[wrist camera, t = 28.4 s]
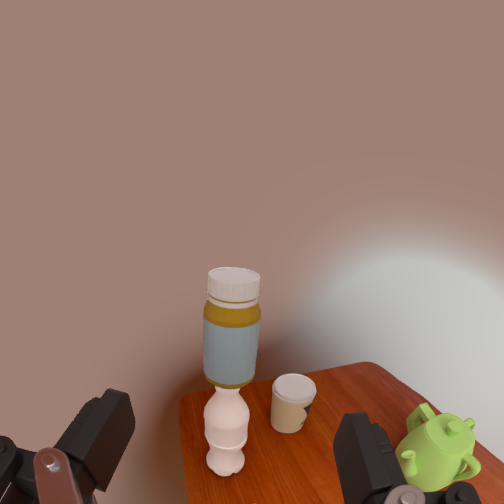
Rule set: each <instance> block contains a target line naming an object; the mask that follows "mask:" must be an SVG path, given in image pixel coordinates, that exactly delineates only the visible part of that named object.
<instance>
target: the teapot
mask: <svg viewBox="0 0 504 504" xmlns="http://www.w3.org/2000/svg"><path fill="white" fill-rule="evenodd" d="M421 418H422V419H423V421H424V422H425V423H423V424H422V425H421V423H420V420H421ZM406 424H407V431H408V435H407V436H406V437H405V438H404V439H403V440H402V441H401V442H400V443H399V445H398V446H397V448H396V450H395V454H396V457H397V459H398V462H399V464H400V467H401V469H402V472H403V474H404V477H405V479H406V481H407V483H408V484H409V485H413V486H416V487H418V488H419V489H421V491H422V492H435V491H438V490H440V489H442V488H444V487H446V486H448V485H449V484H451V483H452V482H453V481H460V480H466V479H469V478H472V477H474V476H475V475H477V474H478V473H479V472H480V470H481V465H480V463H479V461H478V460H477V459H476V458H474V457H473V456H472V453H473V449H474V444H475V436H474V434H473V431H472V429H473V428H474V426H475V421H474V420H473V419H471V418H468V419H466V420H465V421H463V420H462V419H460V418H459V417H457V416H455V415H453V414H450V413H444V414H440V415H438V416H436V415H435V414H434V412H433V411H432V409H431V408H430V407H429V405H428V404H427V403H424V404H421V405H418V407H417V408H416V409H415V410H414V411H413V412H412V413H411V414H410V415H409V417H408V418H407V419H406ZM467 465H469V467H470V469H469V470H468V471H466V472H465V473H462V472H463V471H464V470H465V468H466V466H467ZM461 473H462V474H461Z"/></svg>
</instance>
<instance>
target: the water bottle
mask: <svg viewBox="0 0 504 504" xmlns="http://www.w3.org/2000/svg"><path fill="white" fill-rule="evenodd" d="M215 388H216V393H215V394H214V395H213V396H212V397H211V398H210V400H209V401H208V402H207V404H206V406H205V409H204V419H205V437H206V439H207V440H208V443H209V445H210V450H209V451H208V453H207V456H206V461H207V464H208V466H209V468H210V469H211V470H213V471H214V472H215V473H216V474H218V475H220V476H230V475H231V474H232V473H233V472H234V473H235V474H236V473H238V472H239V471H240V470H241V469H242V467H243V465H244V461H245V459H244V455H243V452H242V450H241V448H242V447H243V446H244V445H245V443H246V440H247V427H248V421H249V409H248V407H247V405H246V403H245V401H244V400H243V399H242V397H241V396H240V394H239V392H238V391H239V390H240V388H238V389H223V388H220V387H217V386H215Z"/></svg>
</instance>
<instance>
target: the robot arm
mask: <svg viewBox="0 0 504 504" xmlns="http://www.w3.org/2000/svg"><path fill="white" fill-rule="evenodd" d="M134 429H135V417H134V414H133V410H132V406H131V402H130V398H129V395H128V394H127V393H125V392H121V391H118V390H114V389H110V388H109V389H107V390H106V391H105V393H104V394H103V396H102V397H101V398H97V397H95V398H93V399H92V400H90V401H88V402H87V403H85V405H84V406H83V407H82V409H81V410H80V412H79V414H77V416H76V417H75V419H74V421H72V422H71V424H70V425H69V427H68V428H67V430H66V431H65V432H64V434H63V435H62V436H61V438H60V439H59V440H58V442H57V443H56V445H55V446H54V447H53V448H44V449H41V450H40V451H39V452H32V451H28V450H24V449H21V448H17V447H16V445H15V444H14V443H13V441H12V440H11V439H10V438H8V437H6V436H0V499H1V497H2V496H3V494H4V492H5V490H6V489H7V487H8V485H9V484H10V482H11V484H10V486H9V488H8V489H7V491H6V493H5V495H4V496H3V498H2V500H1V502H0V504H97V501H96V499H95V496H94V494H93V492H94V490H95V489H98V490H100V491H103V492H105V491H106V489H107V486H108V485H109V482H110V480H111V478H112V476H113V474H114V472H115V470H116V467H117V466H118V463H119V461H120V459H121V457H122V455H123V453H124V451H125V449H126V446H127V445H128V443H129V441H130V439H131V437H132V435H133V432H134ZM333 451H334V456H335V460H336V465H337V469H338V474H339V479H340V483H341V488H342V493H343V498H344V503H345V504H481V501H480V499H479V497H478V494H477V492H476V490H475V488H474V487H473V486H472V485H471V484H470V483H467V482H456V483H454V484H452V485H451V486H450V487H449V488H448V489H447V490H446V491H437V492H422V491H421V489H419V488H418V487H416V486H413V485H409V484H408V483H407V481H406V479H405V477H404V474H403V472H402V469H401V467H400V464H399V462H398V459H397V457H396V454H395V452H393V447H392V445H391V444H390V440H389V438H388V436H387V433H386V431H385V430H383V429H382V428H381V427H380V426H379V425H378V424H377V423H375V424H371V423H370V421H369V418H368V416H367V414H366V413H365V412H357V413H346V414H344V416H343V419H342V421H341V423H340V426H339V428H338V431H337V433H336V435H335V438H334V443H333Z"/></svg>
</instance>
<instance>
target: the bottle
mask: <svg viewBox="0 0 504 504" xmlns="http://www.w3.org/2000/svg"><path fill="white" fill-rule="evenodd" d="M259 288H260V275H259V274H258V273H256V272H254V271H252V270H248V269H244V268H236V267H223V268H216V269H213V270H211V271H210V272H209V274H208V300H207V302H206V305H205V307H204V315H203V320H204V321H203V332H204V333H203V355H204V356H203V361H204V375H205V377H206V379H207V380H208V381H209V382H211V383H212V384H214V385H215V386H217V387H220V388H223V389H238V388H241V387H243V386H245V385H247V384H248V383H250V382H251V381H252V379H253V378H254V373H255V364H256V355H257V345H258V335H259V325H260V308H259V304H258V298H259V296H258V294H259Z"/></svg>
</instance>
